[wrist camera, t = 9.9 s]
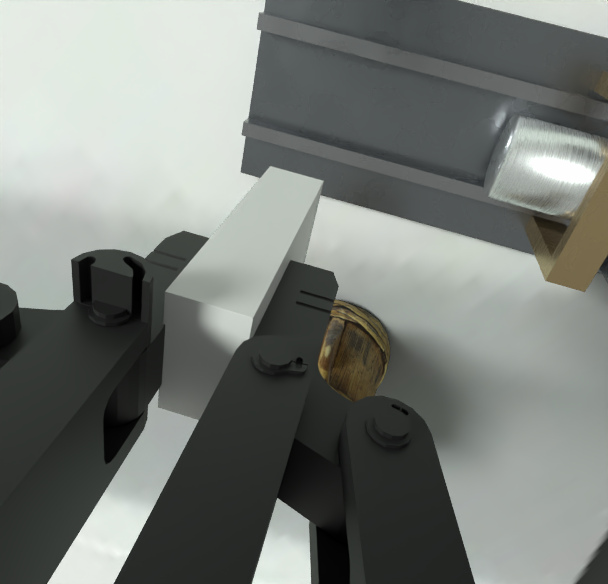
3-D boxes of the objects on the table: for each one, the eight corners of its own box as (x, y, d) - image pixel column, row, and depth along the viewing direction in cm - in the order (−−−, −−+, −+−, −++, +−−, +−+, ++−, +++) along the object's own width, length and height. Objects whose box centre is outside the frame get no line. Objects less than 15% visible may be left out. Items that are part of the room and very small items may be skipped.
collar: (603, 70, 26) (650, 93, 21) (642, 80, 26) (699, 106, 21) (524, 229, 31) (545, 280, 26) (557, 238, 31) (584, 291, 26)
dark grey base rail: (277, -46, 27) (267, -48, 25) (851, 99, 25) (881, 107, 24) (245, 167, 34) (235, 177, 32) (700, 295, 32) (715, 312, 30)
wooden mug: (425, 263, 35) (424, 479, 20) (373, 403, 42) (343, 638, 27) (299, 229, 35) (204, 413, 20) (269, 373, 43) (184, 586, 27)
